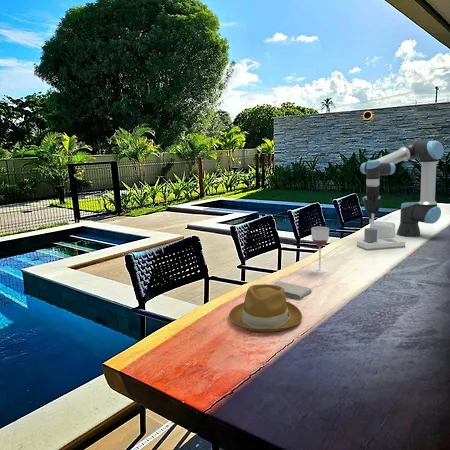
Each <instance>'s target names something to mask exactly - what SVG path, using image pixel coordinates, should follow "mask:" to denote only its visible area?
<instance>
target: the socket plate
mask: <svg viewBox="0 0 450 450" xmlns="http://www.w3.org/2000/svg"><path fill="white" fill-rule="evenodd" d="M356 247H358V248H360V249H363V250H364V251H375V250H378V251H379V250H389V249H403V247H404V248H406V241H404V240H402V239H401V240H400V239H399V238H395V237H394V238H386V239H377V242H373V243H367V242H364V240H363V239H362V240H361V239H359V240H356Z"/></svg>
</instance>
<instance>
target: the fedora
mask: <svg viewBox="0 0 450 450" xmlns="http://www.w3.org/2000/svg"><path fill="white" fill-rule="evenodd" d="M228 316H229V317H228V318H229V319H230V321H231V322H233V323H234V324H235V325H237V326H238V327H240V328H242V329H245V330H247V331H251V332H259V333H260V332H261V333H272V332H273V333H274V332H280V331H285V330H287V329H290V328H292V327H295V326H296V325H299V324H300V323H301V321H302V319H303V314H302V312H301V310H300V309H299V307H297V306H296V305H295V304H293V303H291V302H289V301H287V297H286V295H285V291H284V288H282V287H280V286H277V285H273V284H252V285H250V286H249V287H248V289H247V290H246V293H245V296H244V300H243V302H241V303H239V304H237V305H236V306H234V307H233V308H232V309H230V311H229V314H228Z"/></svg>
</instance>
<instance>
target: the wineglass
mask: <svg viewBox="0 0 450 450" xmlns="http://www.w3.org/2000/svg"><path fill="white" fill-rule="evenodd" d="M310 231H311V240H312V243H313V244H314V245H315V246H316V247H318V267H314V268H311V271H312V273H313V272H314V273H320V274H321V273H328V271H329V270H328V269H327V268H323V267H321V262H322V261H321V260H322V258H321V256H322V255H321V254H322V253H321V252H322V247H323V246H325V245H326V244H327V243H328V240H329V236H330V228H329V227H327V226H312V227H311V229H310Z"/></svg>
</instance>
